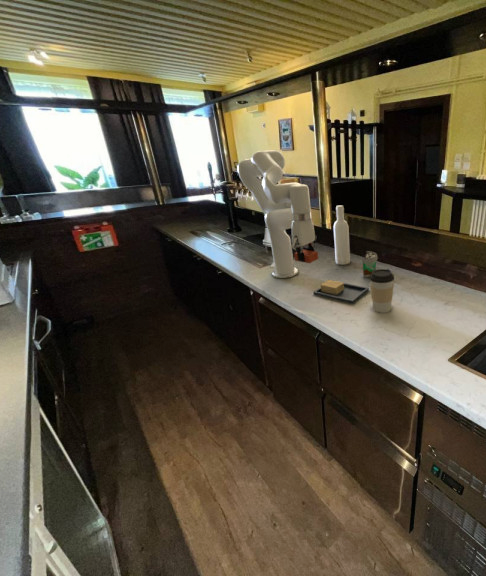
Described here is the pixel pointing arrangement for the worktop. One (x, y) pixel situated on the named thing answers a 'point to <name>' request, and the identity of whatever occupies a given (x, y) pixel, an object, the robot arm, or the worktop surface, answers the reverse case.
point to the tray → (345, 293)
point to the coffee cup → (382, 289)
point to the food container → (369, 263)
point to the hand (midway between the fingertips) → (306, 258)
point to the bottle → (341, 238)
